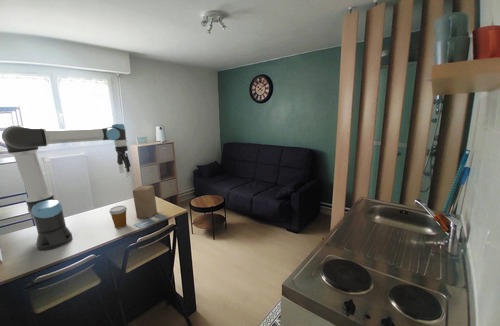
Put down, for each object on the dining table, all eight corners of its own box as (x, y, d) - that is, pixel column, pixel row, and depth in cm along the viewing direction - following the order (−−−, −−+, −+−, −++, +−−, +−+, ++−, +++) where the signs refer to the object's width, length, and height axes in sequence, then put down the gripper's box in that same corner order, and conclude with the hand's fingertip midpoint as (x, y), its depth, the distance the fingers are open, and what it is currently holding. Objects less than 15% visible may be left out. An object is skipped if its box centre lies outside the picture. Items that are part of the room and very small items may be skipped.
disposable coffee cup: (128, 227, 138) (125, 209, 136) (111, 230, 135) (107, 212, 132) (129, 220, 147) (126, 204, 144) (113, 224, 143) (110, 206, 140)
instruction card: (141, 229, 136) (141, 228, 136) (133, 224, 141) (133, 224, 141) (167, 217, 150) (167, 217, 150) (158, 214, 156) (158, 213, 155)
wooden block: (150, 217, 150) (146, 189, 146) (136, 218, 150) (132, 190, 146) (157, 211, 160) (153, 185, 156) (143, 211, 160) (139, 185, 156)
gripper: (133, 146, 151) (137, 176, 155) (121, 143, 167) (124, 170, 172) (121, 147, 145) (125, 178, 150) (109, 144, 162) (114, 172, 166)
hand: (125, 174), depth 161 cm, fingers open, 13 cm apart
